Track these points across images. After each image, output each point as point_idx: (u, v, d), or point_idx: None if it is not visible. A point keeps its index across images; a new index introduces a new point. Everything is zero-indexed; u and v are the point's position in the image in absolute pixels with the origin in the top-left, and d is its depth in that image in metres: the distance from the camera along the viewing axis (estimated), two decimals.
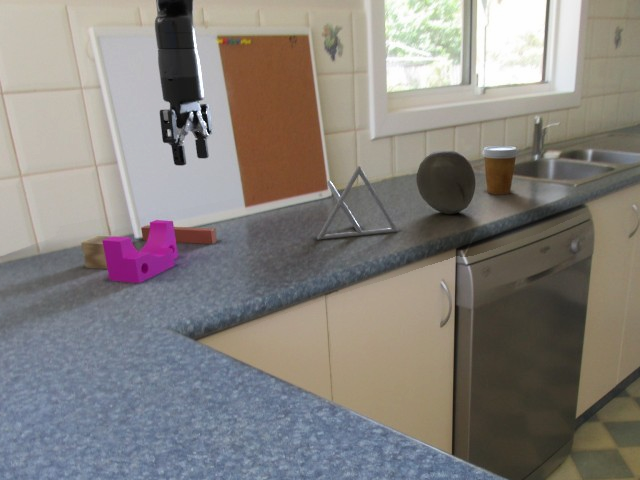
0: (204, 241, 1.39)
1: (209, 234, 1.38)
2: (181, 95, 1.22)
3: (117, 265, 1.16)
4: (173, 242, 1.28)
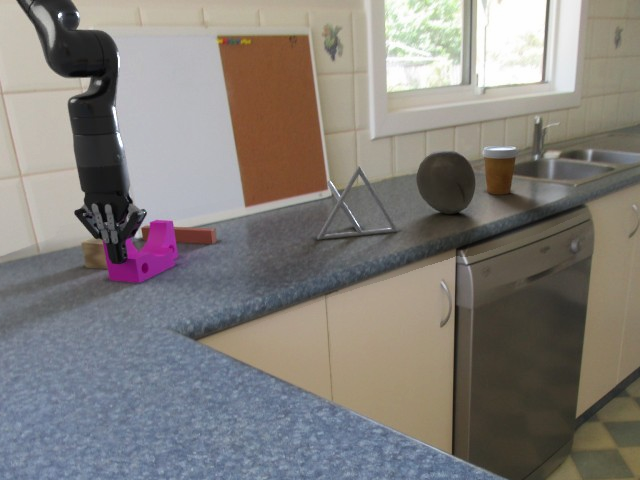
0: (204, 241, 1.39)
1: (209, 234, 1.38)
2: None
3: (117, 265, 1.16)
4: (173, 242, 1.28)
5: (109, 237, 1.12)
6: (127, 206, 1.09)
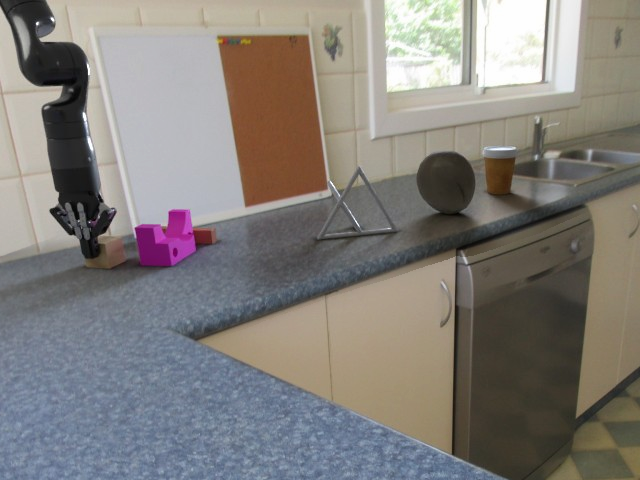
0: (204, 241, 1.39)
1: (209, 234, 1.38)
2: None
3: (149, 250, 1.24)
4: (190, 229, 1.37)
5: (82, 234, 1.20)
6: (98, 205, 1.18)
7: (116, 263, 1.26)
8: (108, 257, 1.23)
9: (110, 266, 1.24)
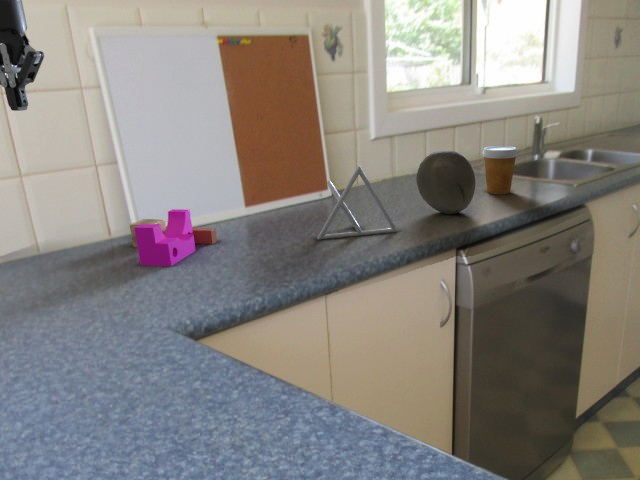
0: (204, 241, 1.39)
1: (209, 234, 1.38)
2: None
3: (149, 250, 1.24)
4: (190, 229, 1.37)
5: (7, 81, 1.11)
6: (23, 46, 1.08)
7: None
8: None
9: None
